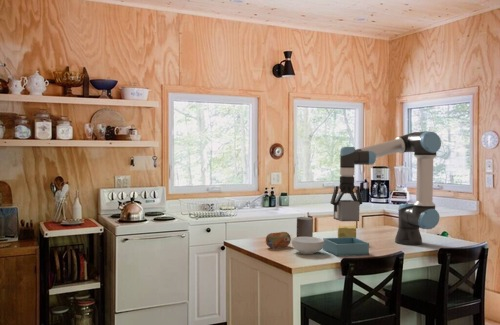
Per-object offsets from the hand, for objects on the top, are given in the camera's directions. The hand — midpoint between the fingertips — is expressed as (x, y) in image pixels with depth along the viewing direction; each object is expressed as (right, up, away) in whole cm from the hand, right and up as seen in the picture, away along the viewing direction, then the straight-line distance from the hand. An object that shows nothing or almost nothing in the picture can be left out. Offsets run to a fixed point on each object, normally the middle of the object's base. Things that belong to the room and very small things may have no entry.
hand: (346, 217), depth 256 cm
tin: (-36, -18, +12) cm, 41 cm away
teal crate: (-1, -18, 0) cm, 18 cm away
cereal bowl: (-21, -18, -2) cm, 28 cm away
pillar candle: (-19, -18, +31) cm, 40 cm away
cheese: (+5, -18, +23) cm, 30 cm away
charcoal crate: (0, -1, 0) cm, 1 cm away
